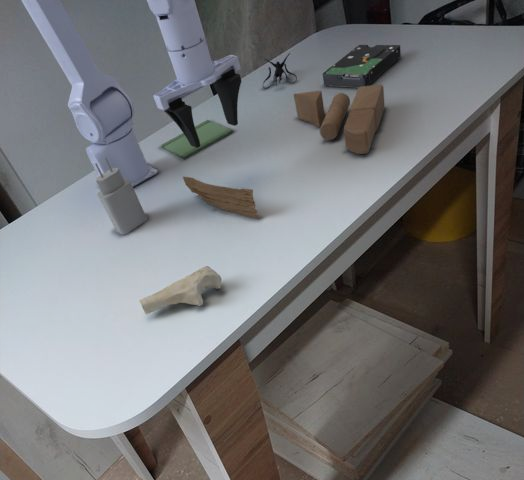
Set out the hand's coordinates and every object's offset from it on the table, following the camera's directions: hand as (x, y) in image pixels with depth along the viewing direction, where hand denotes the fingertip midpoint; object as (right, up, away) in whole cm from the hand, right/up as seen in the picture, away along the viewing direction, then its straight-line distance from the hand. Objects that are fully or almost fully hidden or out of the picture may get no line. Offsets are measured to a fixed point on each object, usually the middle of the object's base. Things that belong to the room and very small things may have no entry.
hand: (214, 134), depth 84 cm
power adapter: (-15, -13, +6) cm, 21 cm away
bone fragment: (-3, -28, -12) cm, 31 cm away
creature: (+12, +25, +34) cm, 44 cm away
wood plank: (+2, -11, +3) cm, 12 cm away
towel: (-6, +9, +24) cm, 26 cm away
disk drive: (+29, +24, +27) cm, 47 cm away
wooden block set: (+20, +5, +12) cm, 24 cm away
